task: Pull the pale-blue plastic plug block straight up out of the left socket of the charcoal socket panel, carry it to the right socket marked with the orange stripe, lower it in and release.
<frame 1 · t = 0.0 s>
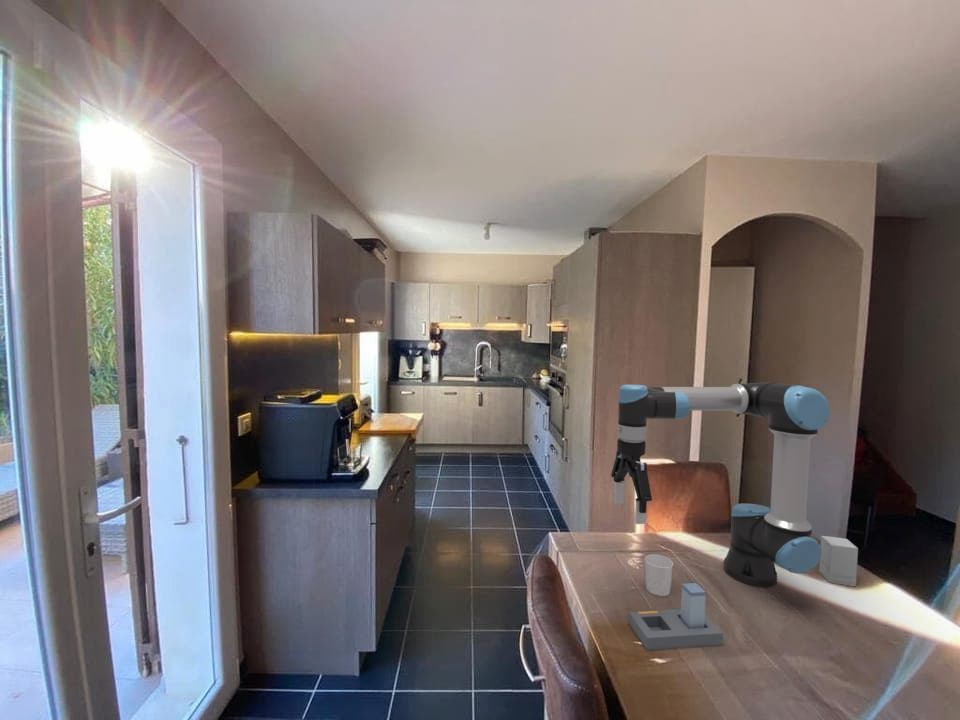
hand: (629, 513, 121), 28 cm above the table, fingers open, 13 cm apart
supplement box: (836, 579, 139), on the table
panel: (673, 636, 111), on the table
white cup: (657, 593, 130), on the table
plug: (691, 632, 111), point 1 cm above the table, touching panel
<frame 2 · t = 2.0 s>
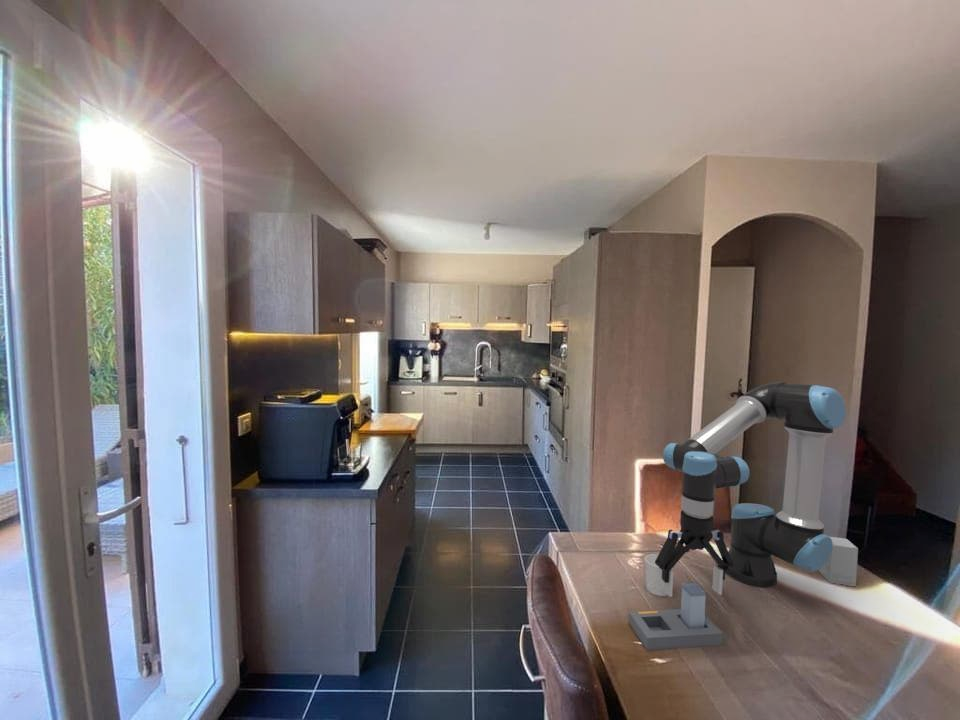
hand: (692, 592, 111), 12 cm above the table, fingers open, 13 cm apart
nothing on the table moved.
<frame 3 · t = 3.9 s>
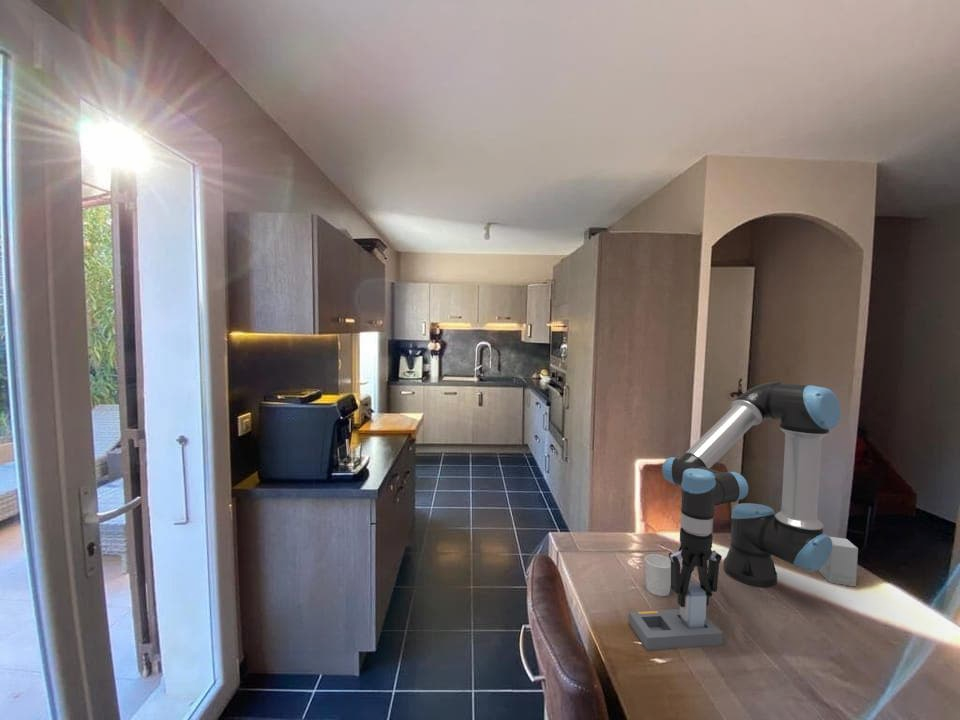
hand: (692, 616, 111), 5 cm above the table, fingers closed on plug, 4 cm apart
plug: (691, 632, 111), point 1 cm above the table, touching gripper, panel
everything else where it was.
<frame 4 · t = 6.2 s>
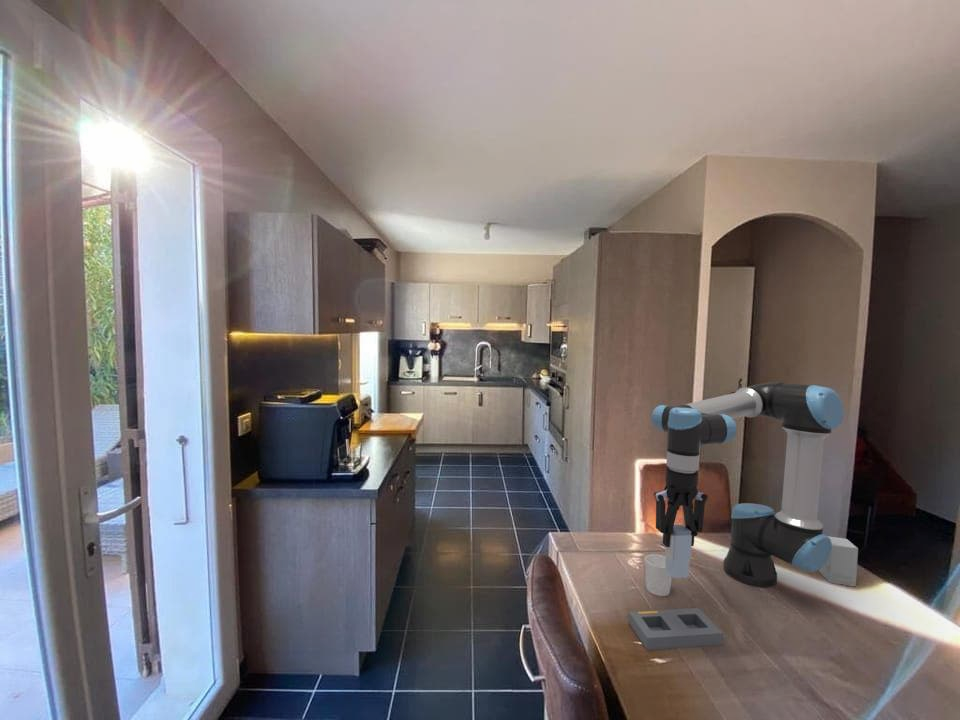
hand: (677, 557, 110), 21 cm above the table, fingers closed on plug, 4 cm apart
plug: (676, 573, 110), point 17 cm above the table, touching gripper
everything else where it was.
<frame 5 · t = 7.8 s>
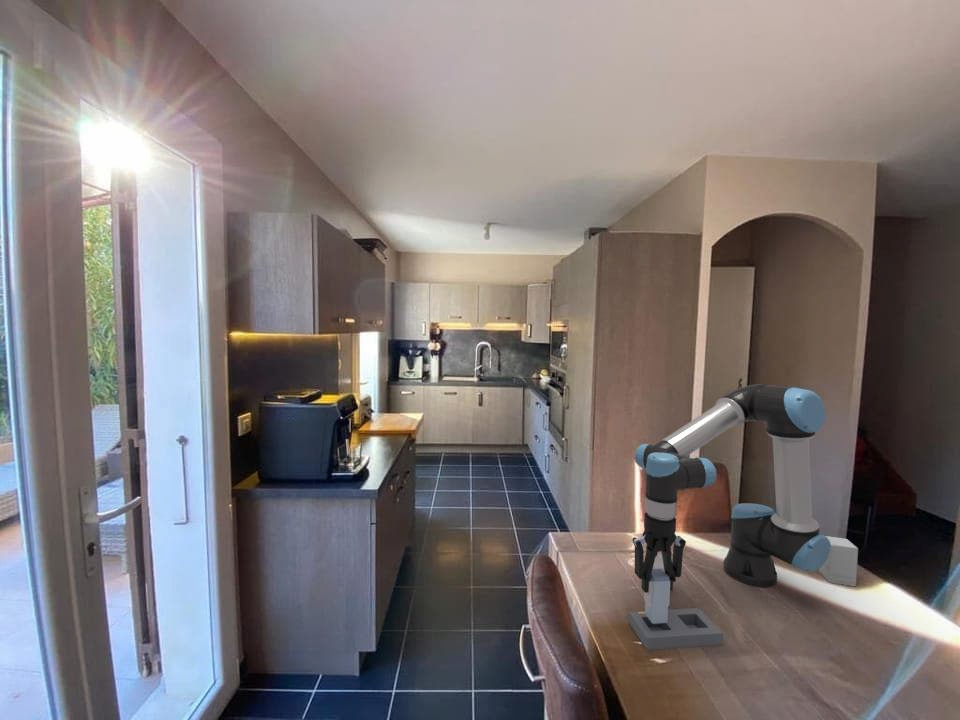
hand: (656, 602, 110), 10 cm above the table, fingers closed on plug, 4 cm apart
plug: (655, 618, 110), point 5 cm above the table, touching gripper
everything else where it was.
when the fingers open (7 cm above the table, at t = 9.0 s): plug drops 1 cm, resting on panel.
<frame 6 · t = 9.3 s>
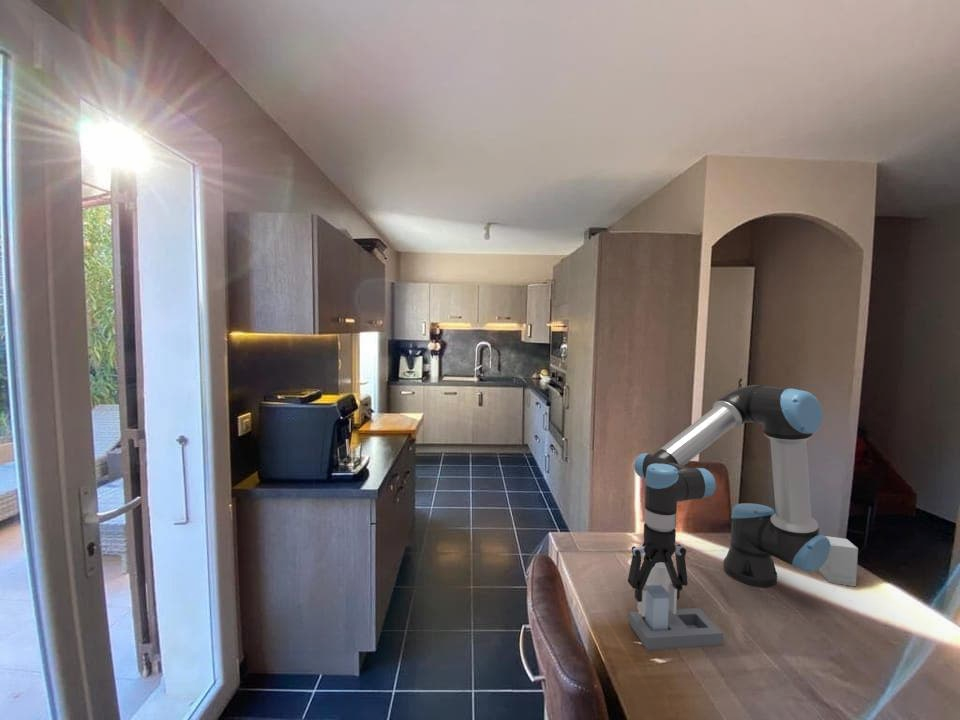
hand: (656, 611, 110), 7 cm above the table, fingers open, 8 cm apart
plug: (655, 634, 110), point 1 cm above the table, touching panel
everything else where it was.
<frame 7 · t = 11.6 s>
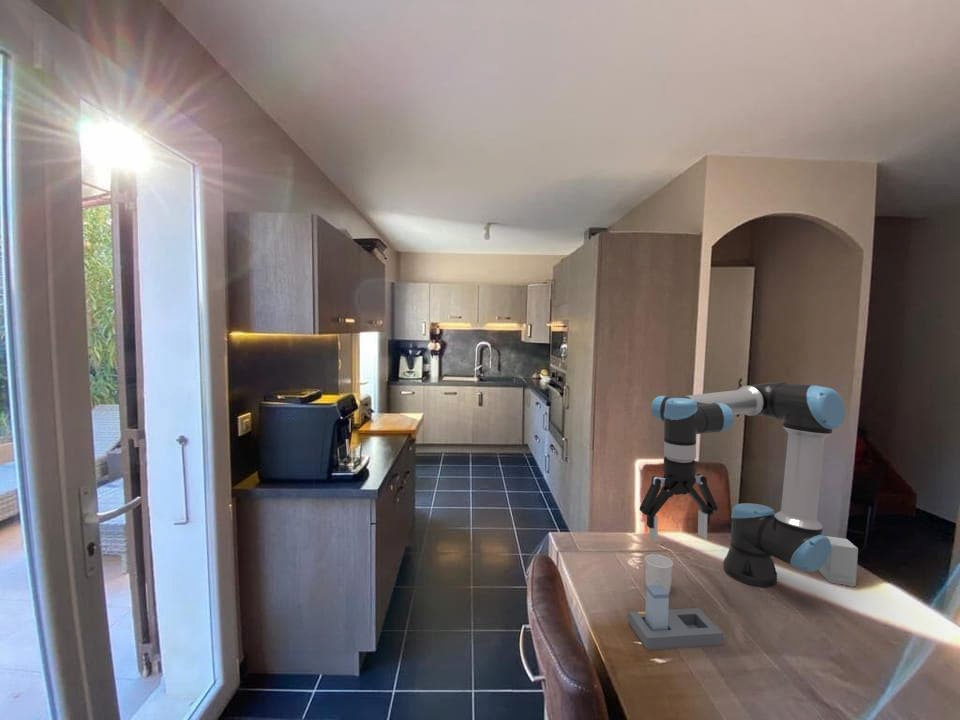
hand: (678, 537, 111), 26 cm above the table, fingers open, 13 cm apart
nothing on the table moved.
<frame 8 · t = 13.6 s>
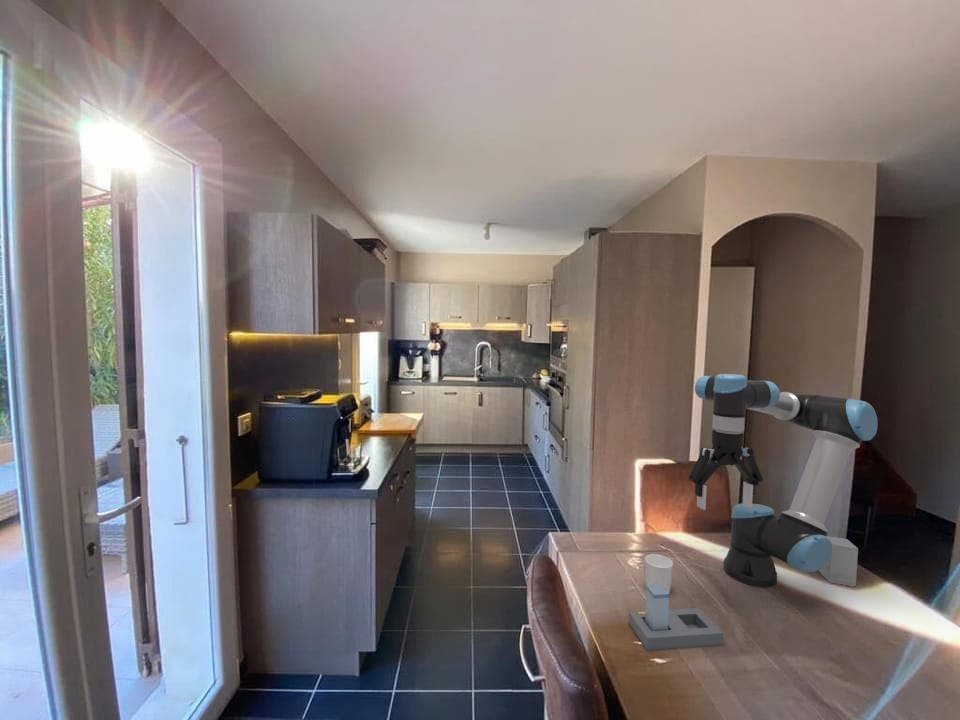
hand: (724, 507, 117), 32 cm above the table, fingers open, 13 cm apart
nothing on the table moved.
at the end: plug 0.0 cm from the target spot on the panel, point 1.0 cm above the panel's base; plug tilted 0°; the gripper is holding nothing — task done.
